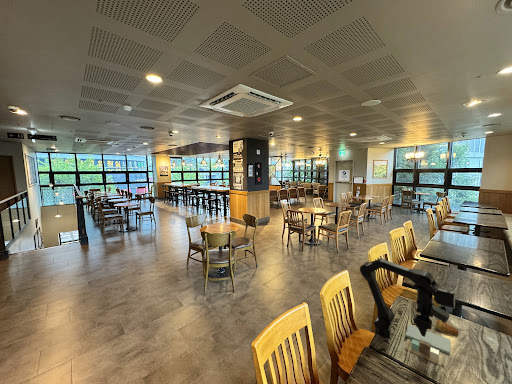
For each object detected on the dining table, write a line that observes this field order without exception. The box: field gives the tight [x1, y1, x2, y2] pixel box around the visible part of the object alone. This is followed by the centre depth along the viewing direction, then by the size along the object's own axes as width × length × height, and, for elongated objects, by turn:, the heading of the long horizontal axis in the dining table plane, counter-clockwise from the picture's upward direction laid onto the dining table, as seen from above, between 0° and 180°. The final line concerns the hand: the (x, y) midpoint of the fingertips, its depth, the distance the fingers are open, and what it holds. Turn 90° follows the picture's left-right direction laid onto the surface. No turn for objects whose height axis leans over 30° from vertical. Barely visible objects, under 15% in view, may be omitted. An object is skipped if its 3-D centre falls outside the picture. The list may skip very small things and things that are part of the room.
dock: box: [405, 324, 451, 355], centre depth 107 cm, size 17×10×2 cm, turn 45°
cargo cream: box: [430, 347, 440, 361], centre depth 96 cm, size 3×3×3 cm
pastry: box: [434, 319, 459, 336], centre depth 114 cm, size 9×7×4 cm
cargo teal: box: [410, 339, 419, 352], centre depth 101 cm, size 3×3×3 cm
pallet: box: [405, 338, 446, 367], centre depth 99 cm, size 14×7×7 cm, turn 45°
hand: (424, 330), depth 98 cm, fingers open, 9 cm apart
